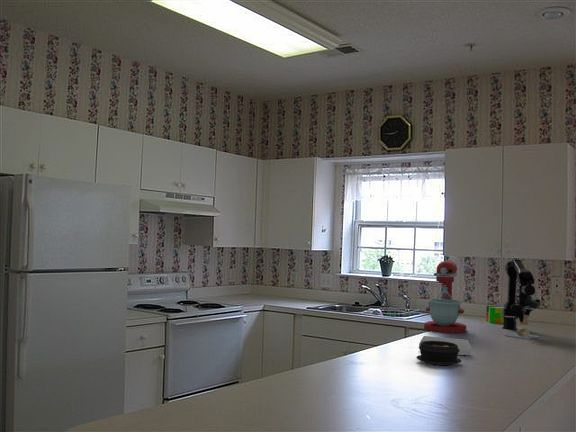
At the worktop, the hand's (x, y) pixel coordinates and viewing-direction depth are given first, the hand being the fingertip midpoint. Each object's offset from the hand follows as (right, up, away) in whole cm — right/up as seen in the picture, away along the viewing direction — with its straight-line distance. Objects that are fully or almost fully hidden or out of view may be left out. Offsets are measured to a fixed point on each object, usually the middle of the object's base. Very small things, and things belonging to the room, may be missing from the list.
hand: (523, 322), depth 343 cm
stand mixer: (-40, -8, +16) cm, 44 cm away
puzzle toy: (+4, -10, +57) cm, 59 cm away
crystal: (-59, -5, -58) cm, 83 cm away
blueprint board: (0, -8, 0) cm, 8 cm away
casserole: (-68, -3, -83) cm, 108 cm away
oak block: (0, -8, 0) cm, 8 cm away
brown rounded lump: (0, -1, 0) cm, 1 cm away
